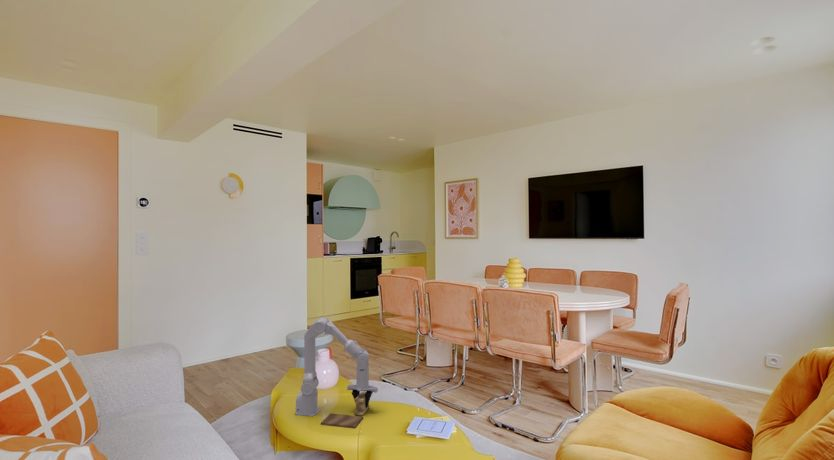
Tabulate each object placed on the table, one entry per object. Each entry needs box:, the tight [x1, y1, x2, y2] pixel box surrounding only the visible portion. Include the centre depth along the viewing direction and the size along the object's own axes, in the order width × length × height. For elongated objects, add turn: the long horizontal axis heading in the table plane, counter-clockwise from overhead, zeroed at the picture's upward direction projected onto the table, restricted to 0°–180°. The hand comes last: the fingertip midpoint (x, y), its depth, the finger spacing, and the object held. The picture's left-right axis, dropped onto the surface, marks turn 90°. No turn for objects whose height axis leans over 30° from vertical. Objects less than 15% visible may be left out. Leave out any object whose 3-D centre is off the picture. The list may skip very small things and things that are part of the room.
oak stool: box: [353, 391, 371, 416], centre depth 187 cm, size 4×10×7 cm, turn 168°
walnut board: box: [320, 413, 364, 429], centre depth 176 cm, size 16×10×1 cm, turn 78°
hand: (362, 406), depth 187 cm, fingers closed on oak stool, 4 cm apart
